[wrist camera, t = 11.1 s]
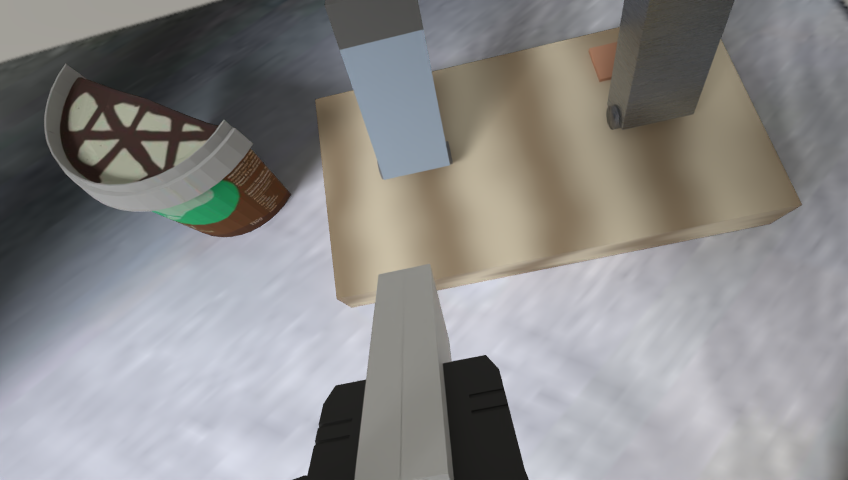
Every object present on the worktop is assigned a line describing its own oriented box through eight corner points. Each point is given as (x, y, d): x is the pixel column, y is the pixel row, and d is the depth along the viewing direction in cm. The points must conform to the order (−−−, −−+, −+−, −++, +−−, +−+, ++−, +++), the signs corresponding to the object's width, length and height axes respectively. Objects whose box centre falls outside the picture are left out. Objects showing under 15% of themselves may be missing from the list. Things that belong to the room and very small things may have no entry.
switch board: (351, 307, 29) (335, 298, 26) (329, 123, 34) (313, 96, 31) (769, 223, 27) (805, 202, 24) (686, 40, 32) (707, 2, 29)
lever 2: (616, 140, 27) (657, -64, 18) (602, 114, 28) (634, -85, 20) (693, 123, 26) (772, -92, 18) (674, 98, 28) (739, -112, 19)
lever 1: (383, 189, 28) (320, 6, 20) (382, 165, 29) (323, -13, 21) (455, 173, 27) (418, -19, 20) (449, 150, 29) (414, -36, 21)
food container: (130, 218, 34) (-10, 152, 24) (174, 148, 35) (58, 61, 26) (266, 279, 31) (167, 231, 21) (308, 200, 32) (233, 122, 23)
